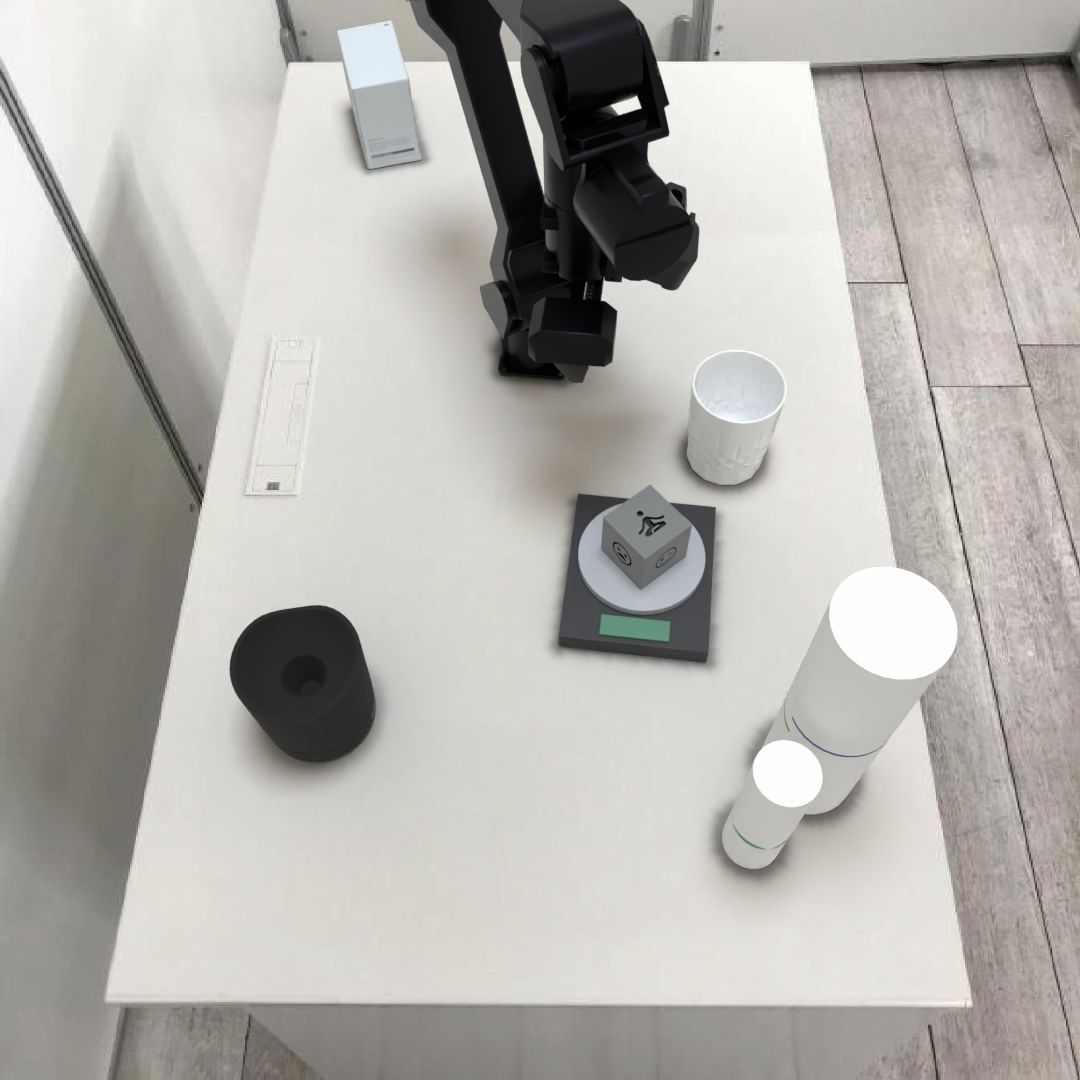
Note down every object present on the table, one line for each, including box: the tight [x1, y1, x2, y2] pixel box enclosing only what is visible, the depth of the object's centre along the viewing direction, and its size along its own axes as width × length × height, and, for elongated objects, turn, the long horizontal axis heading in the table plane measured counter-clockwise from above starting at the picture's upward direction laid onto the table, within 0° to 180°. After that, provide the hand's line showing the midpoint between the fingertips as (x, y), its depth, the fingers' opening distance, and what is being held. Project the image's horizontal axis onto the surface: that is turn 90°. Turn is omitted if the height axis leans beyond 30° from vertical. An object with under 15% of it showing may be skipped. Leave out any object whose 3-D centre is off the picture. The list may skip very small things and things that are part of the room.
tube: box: [721, 740, 823, 870], centre depth 73 cm, size 4×4×15 cm
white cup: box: [686, 349, 788, 486], centre depth 93 cm, size 8×8×10 cm
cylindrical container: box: [761, 566, 958, 815], centre depth 71 cm, size 7×7×25 cm
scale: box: [558, 493, 717, 663], centre depth 89 cm, size 12×14×3 cm
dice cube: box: [601, 484, 692, 590], centre depth 87 cm, size 5×5×5 cm
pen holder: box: [228, 604, 376, 763], centre depth 80 cm, size 9×9×10 cm
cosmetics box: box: [336, 19, 423, 170], centre depth 116 cm, size 10×6×10 cm, turn 14°
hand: (582, 339), depth 89 cm, fingers open, 9 cm apart
